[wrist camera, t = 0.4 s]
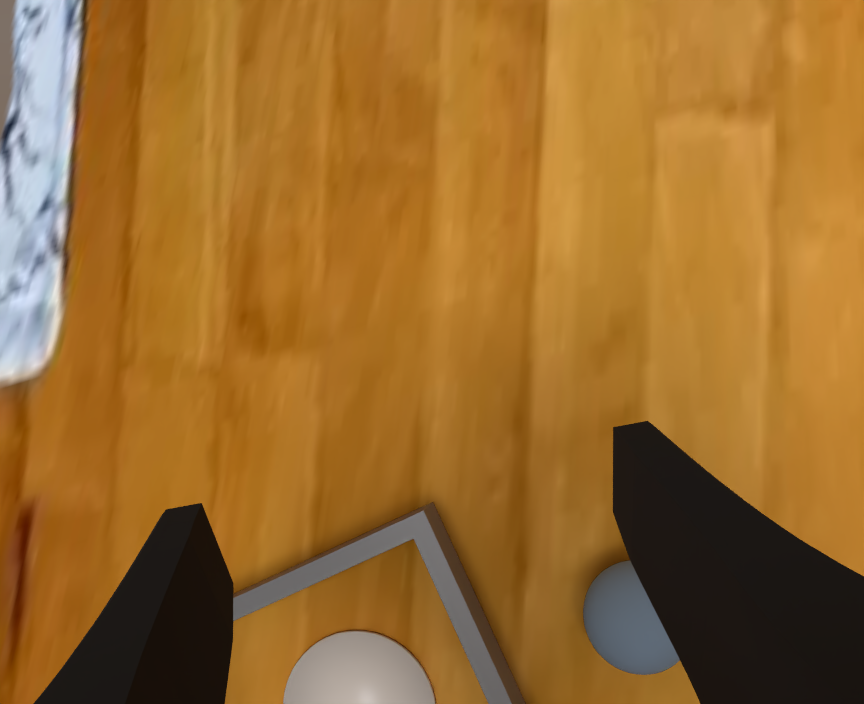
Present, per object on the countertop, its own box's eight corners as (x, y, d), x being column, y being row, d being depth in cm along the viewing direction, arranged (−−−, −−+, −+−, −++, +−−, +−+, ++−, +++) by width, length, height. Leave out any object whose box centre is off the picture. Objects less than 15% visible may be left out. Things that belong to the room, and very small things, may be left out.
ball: (703, 629, 38) (726, 664, 33) (608, 669, 39) (617, 709, 34) (656, 534, 39) (672, 554, 34) (564, 575, 39) (565, 601, 34)
